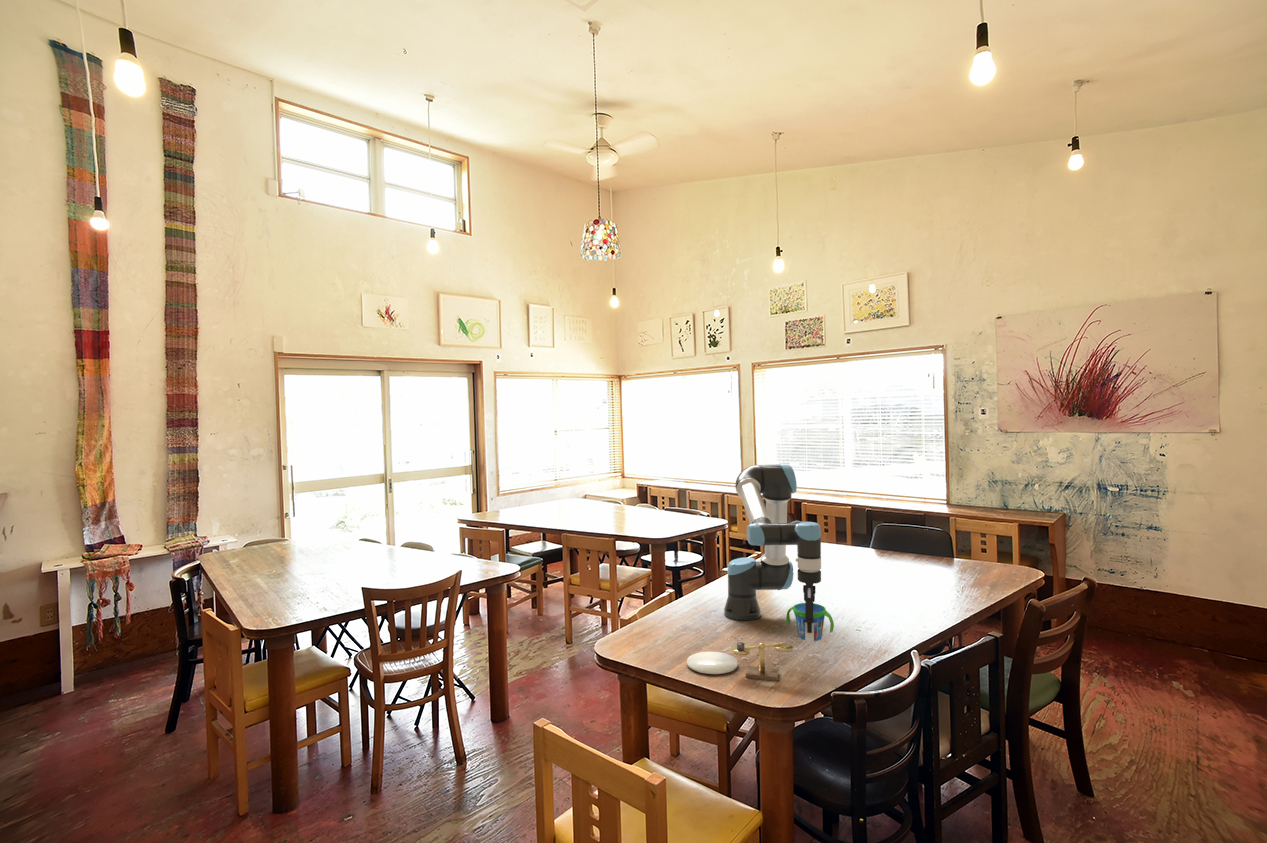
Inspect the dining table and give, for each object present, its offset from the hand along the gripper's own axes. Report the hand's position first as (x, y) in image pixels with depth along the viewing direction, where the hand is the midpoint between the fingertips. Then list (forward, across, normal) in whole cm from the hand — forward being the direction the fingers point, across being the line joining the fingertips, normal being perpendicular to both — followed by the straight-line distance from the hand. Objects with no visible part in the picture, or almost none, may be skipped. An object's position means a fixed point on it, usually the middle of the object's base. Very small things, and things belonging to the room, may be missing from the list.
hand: (809, 635), depth 201 cm
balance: (+10, +11, -15) cm, 21 cm away
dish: (+10, +7, -32) cm, 34 cm away
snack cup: (+1, 0, 0) cm, 1 cm away
